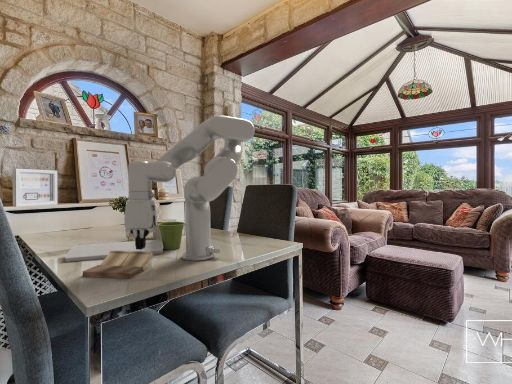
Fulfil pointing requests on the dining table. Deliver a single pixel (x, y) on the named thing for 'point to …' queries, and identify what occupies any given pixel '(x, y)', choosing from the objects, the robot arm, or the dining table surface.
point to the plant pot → (171, 234)
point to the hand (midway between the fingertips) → (140, 248)
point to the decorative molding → (109, 249)
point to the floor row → (112, 271)
